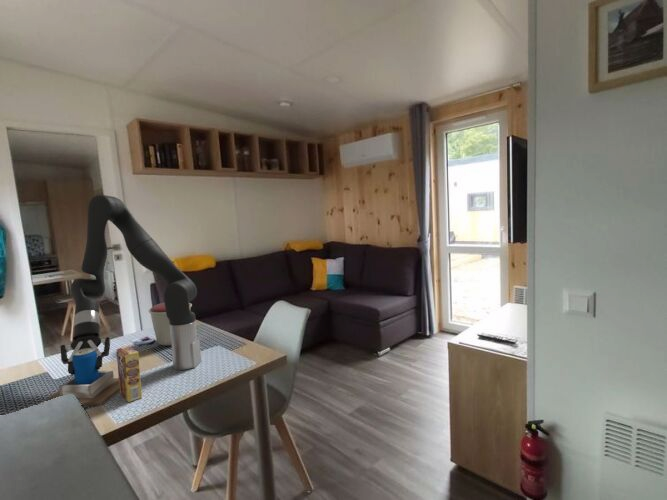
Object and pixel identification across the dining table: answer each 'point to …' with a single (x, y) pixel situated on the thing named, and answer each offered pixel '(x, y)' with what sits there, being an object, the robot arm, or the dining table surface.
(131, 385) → the candy box
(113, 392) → the guard socket
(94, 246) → the robot arm
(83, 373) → the beverage can
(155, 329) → the canister
